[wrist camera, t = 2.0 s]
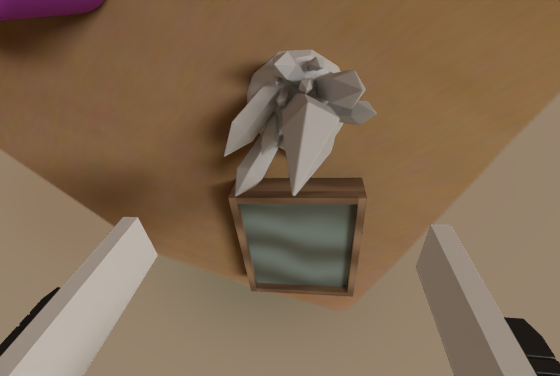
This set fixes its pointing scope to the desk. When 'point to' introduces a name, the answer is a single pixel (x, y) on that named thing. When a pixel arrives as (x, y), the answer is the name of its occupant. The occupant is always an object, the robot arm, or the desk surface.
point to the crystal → (295, 115)
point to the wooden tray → (301, 234)
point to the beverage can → (44, 8)
